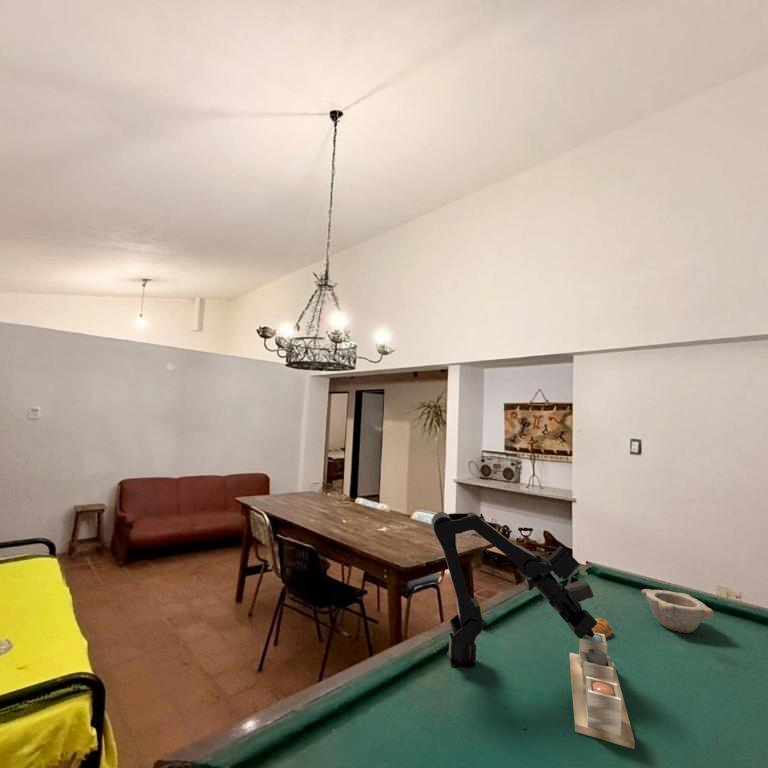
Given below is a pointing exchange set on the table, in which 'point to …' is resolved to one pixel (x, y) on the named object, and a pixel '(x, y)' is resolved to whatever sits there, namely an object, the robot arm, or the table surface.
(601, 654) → the grey rounded piece
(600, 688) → the terracotta button
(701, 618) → the mortar
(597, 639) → the pale blue rounded knob
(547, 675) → the table surface
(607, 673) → the button console
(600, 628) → the pastry
